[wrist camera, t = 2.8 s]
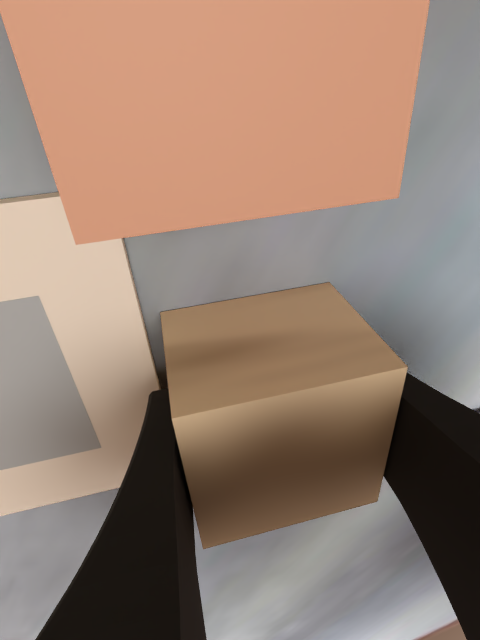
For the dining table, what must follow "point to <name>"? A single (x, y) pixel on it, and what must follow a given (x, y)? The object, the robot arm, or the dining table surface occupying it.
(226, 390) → the maple block
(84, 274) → the square frame
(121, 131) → the terracotta block
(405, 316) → the dining table surface
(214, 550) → the dining table surface
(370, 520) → the dining table surface
